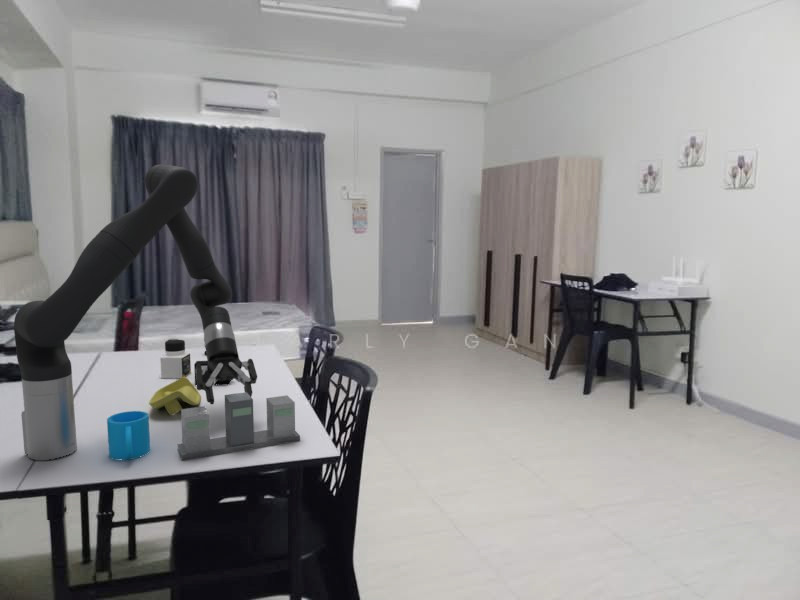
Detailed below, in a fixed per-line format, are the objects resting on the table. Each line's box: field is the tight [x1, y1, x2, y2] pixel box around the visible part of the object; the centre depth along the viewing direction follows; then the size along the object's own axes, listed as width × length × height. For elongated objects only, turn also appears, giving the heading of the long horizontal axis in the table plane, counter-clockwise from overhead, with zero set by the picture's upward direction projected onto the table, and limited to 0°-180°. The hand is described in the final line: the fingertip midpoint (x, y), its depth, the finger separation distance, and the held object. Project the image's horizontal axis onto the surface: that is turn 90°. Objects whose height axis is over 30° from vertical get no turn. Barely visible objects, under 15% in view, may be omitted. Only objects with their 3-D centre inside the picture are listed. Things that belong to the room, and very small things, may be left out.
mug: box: [106, 410, 151, 461], centre depth 125 cm, size 12×8×8 cm
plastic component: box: [148, 376, 202, 416], centre depth 158 cm, size 20×7×10 cm
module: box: [224, 391, 255, 446], centre depth 132 cm, size 5×6×10 cm
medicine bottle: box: [159, 338, 192, 379], centre depth 190 cm, size 7×7×12 cm
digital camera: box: [193, 360, 232, 386], centre depth 181 cm, size 10×5×7 cm, turn 98°
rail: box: [177, 395, 301, 461], centre depth 132 cm, size 26×7×9 cm, turn 117°
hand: (230, 400), depth 140 cm, fingers open, 8 cm apart
